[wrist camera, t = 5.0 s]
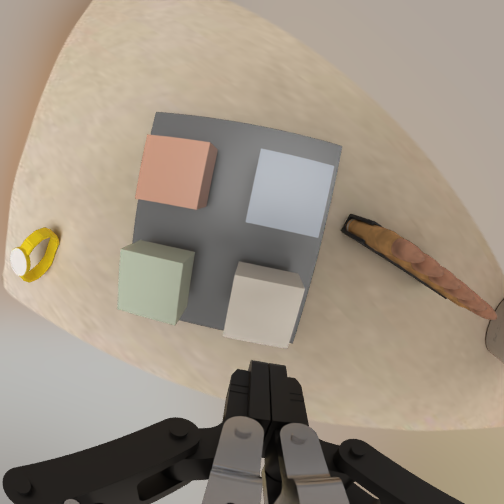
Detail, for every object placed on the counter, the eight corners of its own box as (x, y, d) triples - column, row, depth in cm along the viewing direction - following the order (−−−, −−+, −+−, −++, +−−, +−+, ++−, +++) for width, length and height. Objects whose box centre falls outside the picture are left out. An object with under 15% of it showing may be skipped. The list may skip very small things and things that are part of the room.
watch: (54, 221, 25) (19, 226, 19) (69, 235, 26) (35, 243, 20) (37, 265, 26) (4, 276, 20) (51, 279, 26) (19, 293, 20)
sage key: (195, 252, 21) (183, 263, 18) (186, 306, 22) (175, 325, 19) (140, 239, 21) (120, 248, 18) (135, 293, 22) (117, 309, 19)
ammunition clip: (340, 231, 24) (402, 266, 13) (350, 213, 24) (420, 234, 12) (421, 282, 25) (495, 334, 13) (430, 267, 25) (507, 311, 13)
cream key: (298, 273, 22) (305, 288, 18) (283, 326, 23) (287, 348, 19) (238, 261, 22) (234, 274, 18) (227, 315, 22) (222, 336, 19)
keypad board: (338, 148, 23) (352, 140, 19) (291, 337, 27) (295, 359, 23) (160, 115, 23) (144, 103, 19) (132, 301, 26) (115, 317, 23)
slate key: (322, 169, 20) (334, 166, 16) (309, 230, 21) (318, 238, 17) (261, 155, 20) (261, 148, 16) (248, 216, 21) (245, 222, 17)
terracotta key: (217, 149, 21) (210, 142, 18) (206, 206, 22) (196, 209, 19) (163, 141, 21) (147, 134, 18) (152, 196, 22) (135, 198, 19)
